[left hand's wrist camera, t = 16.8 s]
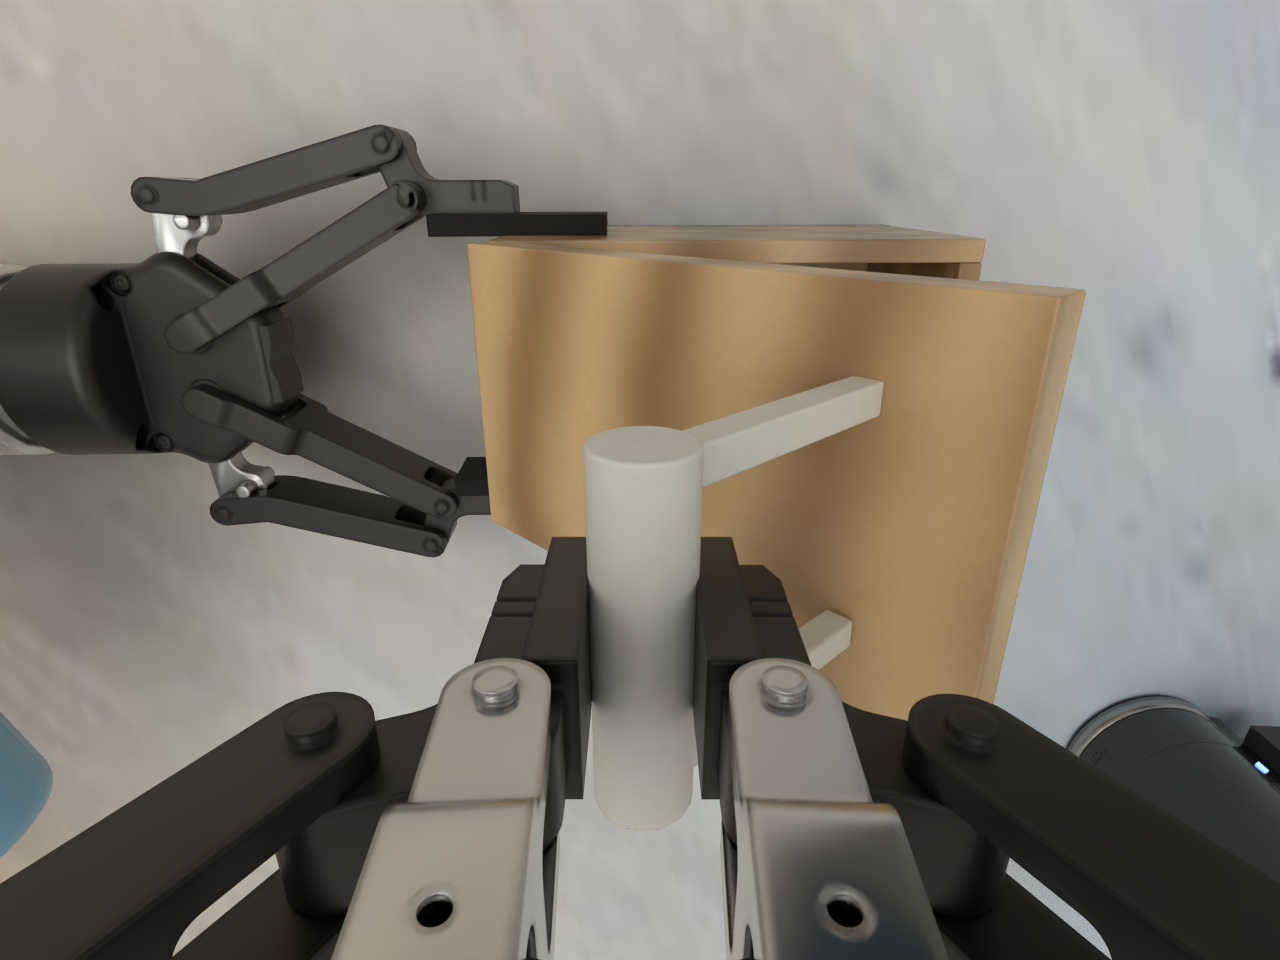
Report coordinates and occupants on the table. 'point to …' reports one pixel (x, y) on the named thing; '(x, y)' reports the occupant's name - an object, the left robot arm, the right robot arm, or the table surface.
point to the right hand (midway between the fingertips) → (609, 356)
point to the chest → (794, 246)
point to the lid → (768, 469)
